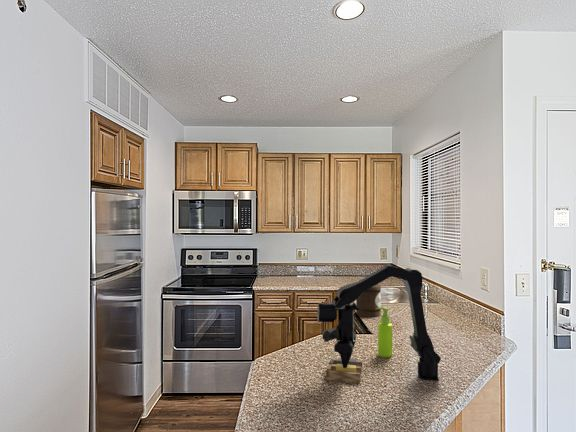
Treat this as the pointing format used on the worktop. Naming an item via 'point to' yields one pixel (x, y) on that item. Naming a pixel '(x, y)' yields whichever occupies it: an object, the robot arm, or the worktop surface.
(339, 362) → the tall grey block
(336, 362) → the slot board
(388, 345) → the soap dispenser
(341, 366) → the yellow rectangular block
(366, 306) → the wooden container
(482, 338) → the worktop surface
